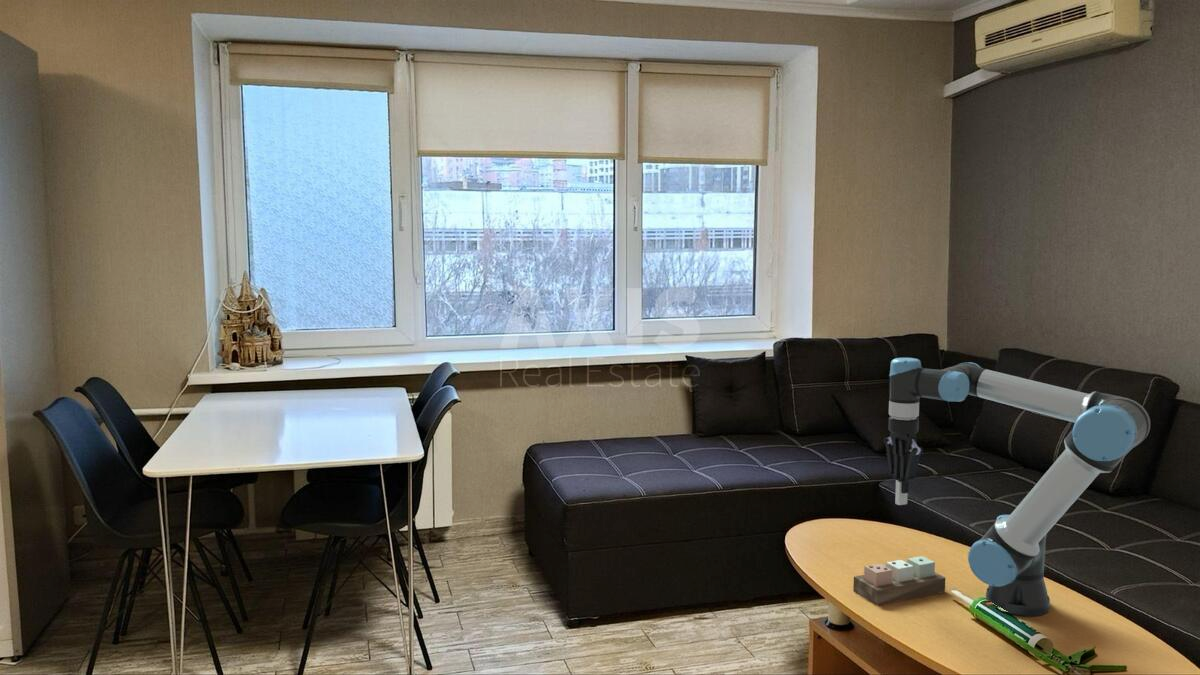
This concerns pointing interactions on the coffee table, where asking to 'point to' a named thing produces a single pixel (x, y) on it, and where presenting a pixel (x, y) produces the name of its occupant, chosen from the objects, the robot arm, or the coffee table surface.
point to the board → (899, 589)
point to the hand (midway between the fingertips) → (901, 503)
